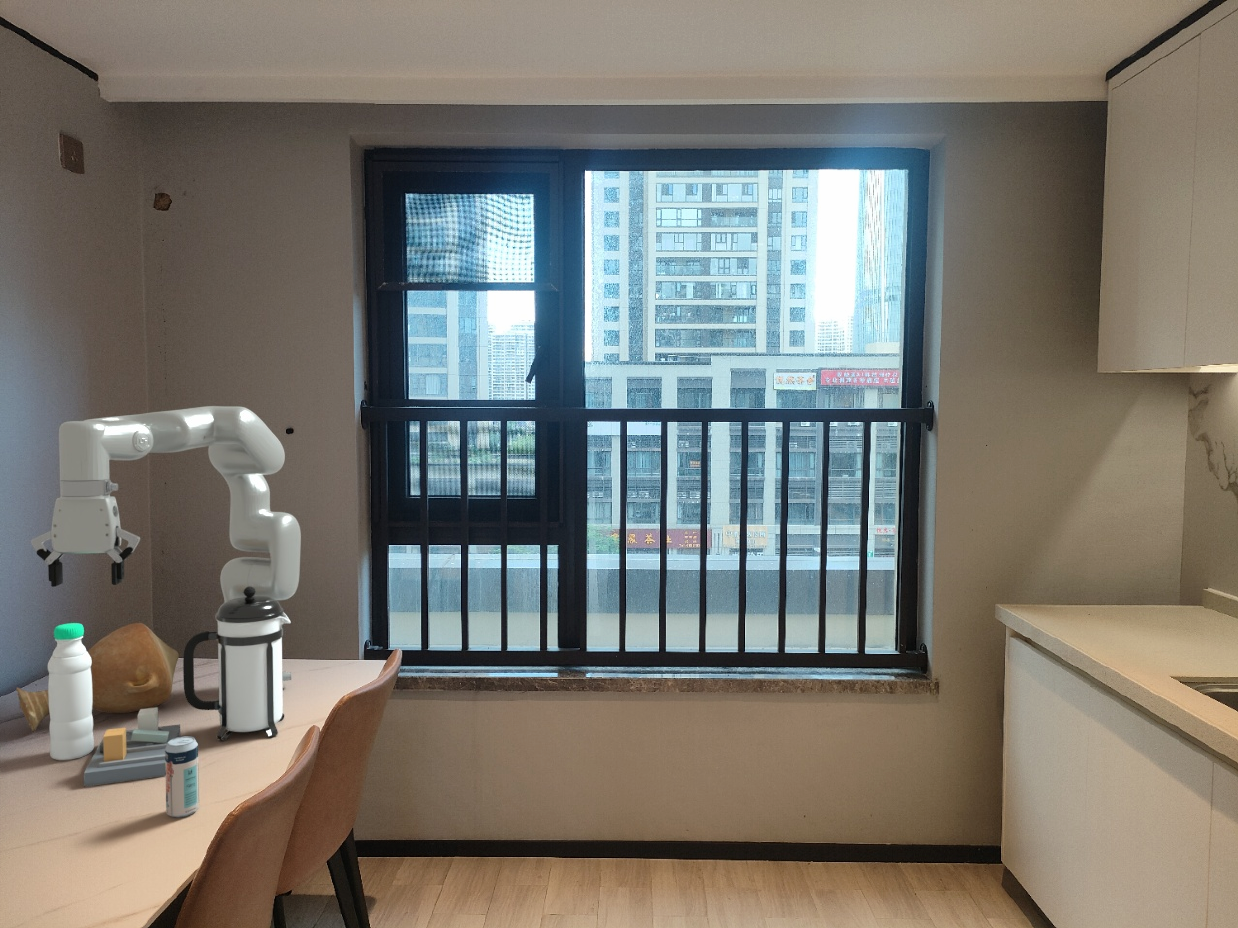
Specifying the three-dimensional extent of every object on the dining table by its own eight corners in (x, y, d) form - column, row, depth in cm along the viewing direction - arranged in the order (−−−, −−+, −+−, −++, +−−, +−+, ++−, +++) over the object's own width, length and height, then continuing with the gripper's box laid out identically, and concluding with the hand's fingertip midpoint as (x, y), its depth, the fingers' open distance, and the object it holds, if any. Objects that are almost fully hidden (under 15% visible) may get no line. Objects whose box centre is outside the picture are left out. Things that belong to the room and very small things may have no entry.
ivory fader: (158, 731, 166) (157, 707, 166) (155, 738, 163) (155, 713, 163) (141, 733, 165) (140, 708, 165) (138, 740, 162) (137, 715, 162)
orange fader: (126, 753, 155) (125, 727, 155) (123, 760, 152) (122, 734, 152) (107, 755, 154) (107, 729, 154) (103, 763, 151) (103, 736, 151)
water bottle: (102, 749, 163) (99, 622, 162) (68, 763, 157) (64, 631, 155) (76, 744, 166) (72, 619, 164) (41, 758, 159) (37, 627, 157)
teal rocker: (167, 738, 162) (169, 731, 162) (166, 742, 160) (167, 735, 160) (132, 736, 160) (134, 728, 160) (130, 740, 158) (132, 732, 158)
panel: (180, 735, 171) (179, 718, 170) (167, 775, 152) (167, 755, 152) (106, 744, 166) (105, 726, 166) (84, 786, 147) (83, 766, 147)
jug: (198, 661, 182) (33, 711, 161) (190, 714, 192) (34, 767, 171) (165, 596, 191) (5, 635, 170) (159, 649, 201) (7, 692, 180)
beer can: (174, 805, 141) (172, 735, 140) (203, 805, 141) (202, 734, 140) (161, 819, 136) (159, 746, 135) (191, 818, 136) (190, 746, 135)
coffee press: (261, 710, 185) (259, 575, 184) (305, 727, 176) (303, 585, 174) (182, 734, 171) (179, 588, 170) (225, 753, 162) (222, 599, 160)
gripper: (144, 487, 157) (146, 579, 158) (39, 488, 153) (42, 582, 154) (131, 491, 150) (133, 586, 150) (20, 492, 146) (23, 590, 146)
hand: (87, 584), depth 152 cm, fingers open, 9 cm apart
